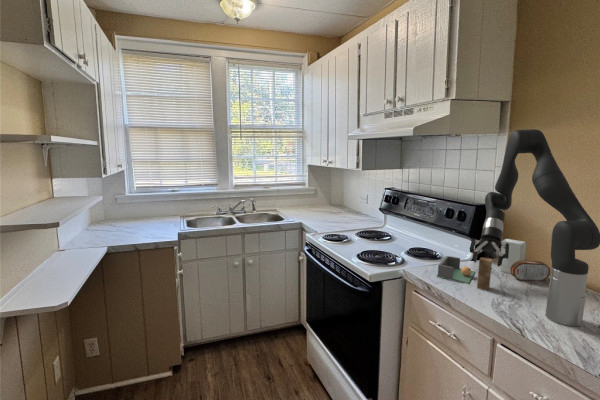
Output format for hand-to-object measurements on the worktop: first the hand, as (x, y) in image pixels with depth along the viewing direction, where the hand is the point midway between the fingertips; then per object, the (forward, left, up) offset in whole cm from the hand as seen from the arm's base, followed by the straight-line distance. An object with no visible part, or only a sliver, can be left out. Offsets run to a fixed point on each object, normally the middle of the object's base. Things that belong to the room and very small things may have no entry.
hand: (486, 263), depth 136 cm
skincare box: (-8, -24, -10) cm, 27 cm away
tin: (-15, -18, -10) cm, 25 cm away
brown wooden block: (0, +3, -9) cm, 10 cm away
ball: (+8, -6, -7) cm, 12 cm away
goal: (+12, -6, -9) cm, 16 cm away
